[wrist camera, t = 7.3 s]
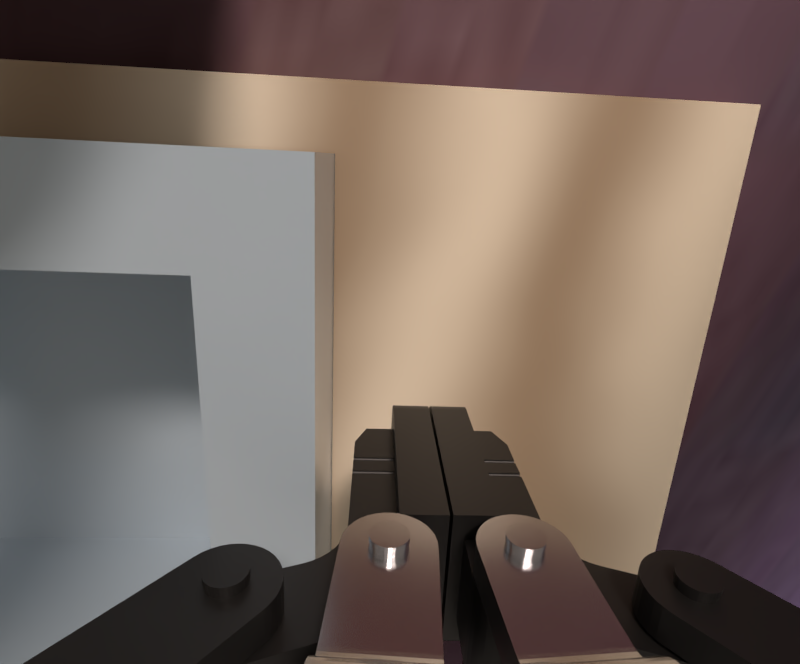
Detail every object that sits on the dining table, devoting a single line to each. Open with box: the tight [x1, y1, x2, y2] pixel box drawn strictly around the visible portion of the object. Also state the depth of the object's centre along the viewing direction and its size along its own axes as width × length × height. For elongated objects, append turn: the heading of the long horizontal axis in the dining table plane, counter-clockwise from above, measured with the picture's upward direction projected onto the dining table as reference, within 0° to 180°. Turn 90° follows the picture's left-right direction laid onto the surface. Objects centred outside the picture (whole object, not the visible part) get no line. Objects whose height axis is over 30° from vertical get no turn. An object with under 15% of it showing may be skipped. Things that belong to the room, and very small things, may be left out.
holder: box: [0, 136, 335, 664], centre depth 11 cm, size 11×11×5 cm
